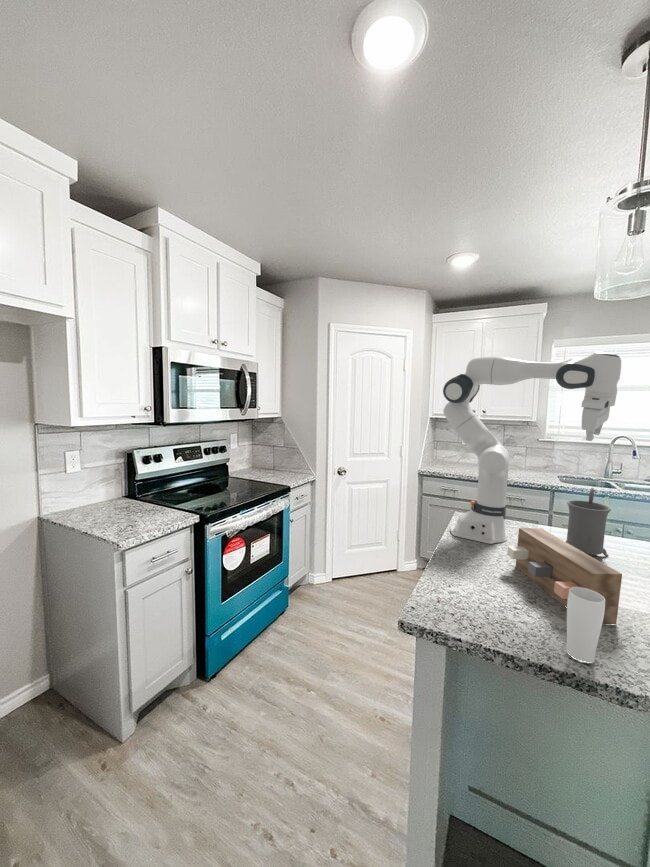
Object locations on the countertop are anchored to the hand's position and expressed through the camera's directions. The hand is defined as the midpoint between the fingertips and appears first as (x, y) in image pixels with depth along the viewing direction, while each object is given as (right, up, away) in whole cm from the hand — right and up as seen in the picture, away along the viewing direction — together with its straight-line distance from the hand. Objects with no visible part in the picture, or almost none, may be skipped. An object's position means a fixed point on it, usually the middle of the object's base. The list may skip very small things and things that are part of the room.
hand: (593, 437), depth 130 cm
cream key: (-31, -40, -8) cm, 52 cm away
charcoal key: (-31, -41, -20) cm, 55 cm away
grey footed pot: (+4, -46, +11) cm, 47 cm away
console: (-25, -47, -19) cm, 57 cm away
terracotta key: (-30, -43, -32) cm, 61 cm away
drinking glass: (-39, -50, -48) cm, 79 cm away
